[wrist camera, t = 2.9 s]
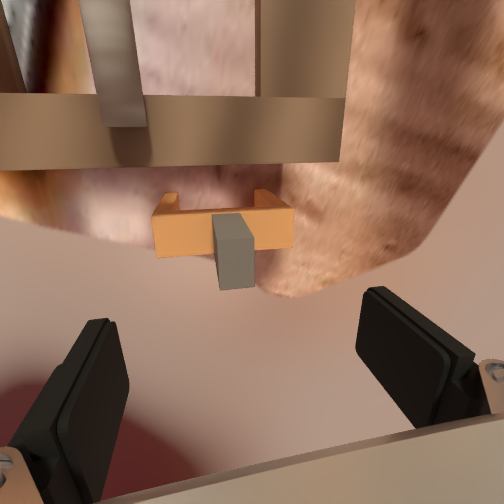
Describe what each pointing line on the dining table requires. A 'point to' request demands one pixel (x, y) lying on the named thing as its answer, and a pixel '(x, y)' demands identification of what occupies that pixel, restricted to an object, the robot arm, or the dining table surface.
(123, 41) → the tan open frame
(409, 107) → the dining table surface
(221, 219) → the orange u-shaped bracket
